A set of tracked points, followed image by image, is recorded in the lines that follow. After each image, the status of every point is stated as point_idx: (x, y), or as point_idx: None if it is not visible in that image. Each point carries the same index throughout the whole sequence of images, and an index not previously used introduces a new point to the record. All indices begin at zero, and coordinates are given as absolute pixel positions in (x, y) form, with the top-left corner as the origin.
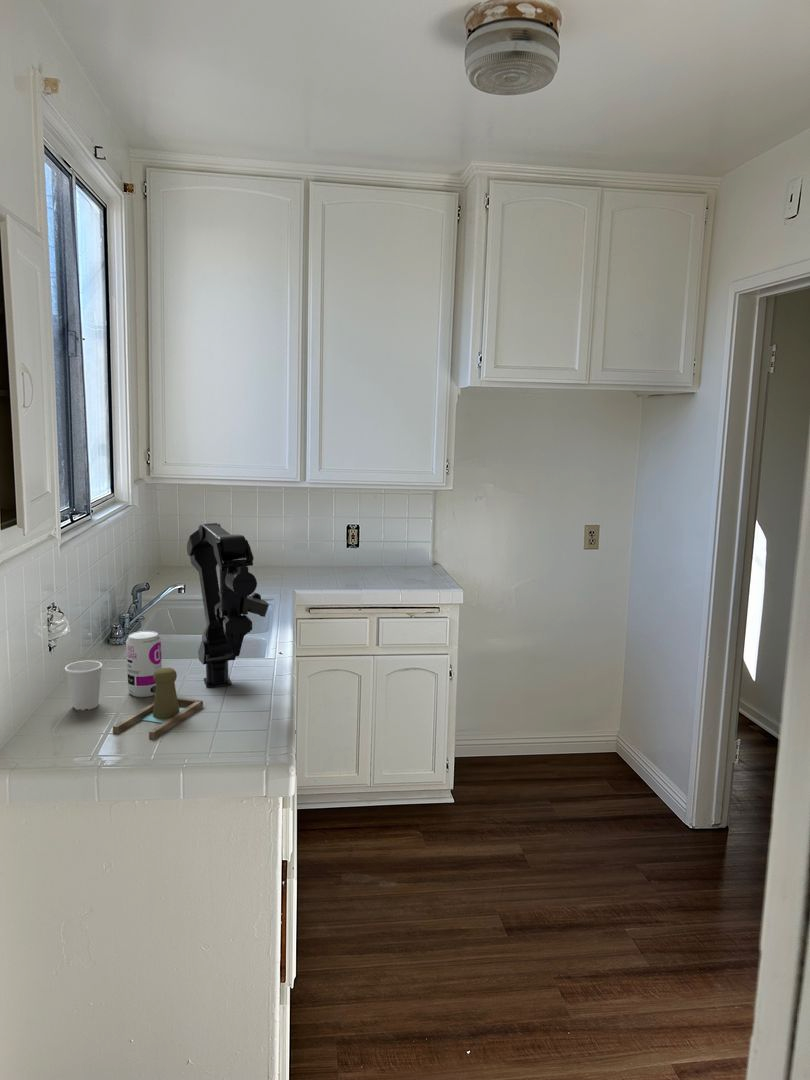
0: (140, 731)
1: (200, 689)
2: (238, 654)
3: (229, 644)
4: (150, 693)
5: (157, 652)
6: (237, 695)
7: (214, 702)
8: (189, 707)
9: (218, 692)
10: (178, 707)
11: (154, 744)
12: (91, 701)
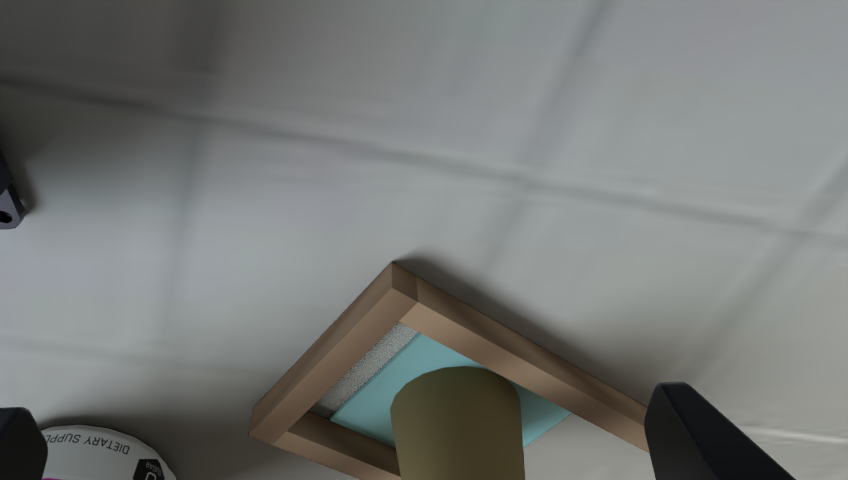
0: (599, 475)
1: (52, 252)
2: (699, 407)
3: (40, 457)
4: (167, 471)
5: None
6: (217, 24)
7: (335, 197)
8: (483, 352)
9: (126, 153)
10: (477, 398)
11: (764, 441)
12: None
